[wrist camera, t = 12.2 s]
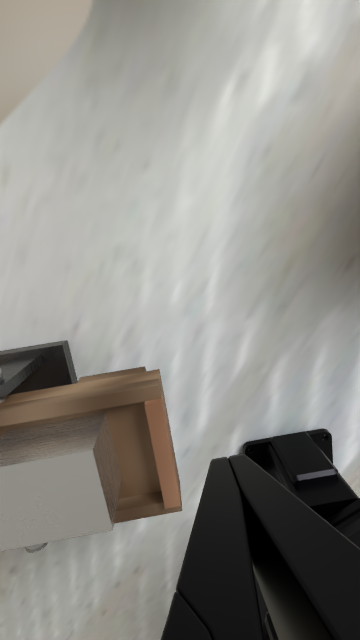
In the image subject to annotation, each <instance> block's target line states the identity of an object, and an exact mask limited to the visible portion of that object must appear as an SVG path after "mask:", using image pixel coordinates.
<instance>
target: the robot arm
mask: <svg viewBox="0 0 360 640" xmlns="http://www.w3.org/2000/svg"><path fill="white" fill-rule="evenodd" d="M323 435H325V436H324V437H323V438H322V436H323ZM249 448H253V449H252V450H248V449H249ZM243 450H244V454H239V455H233V456H230V457H229V458H227V457H222V458H216V459H212V460H211V463H210V466H209V470H208V474H207V477H206V481H205V484H204V488H203V492H202V495H201V499H200V503H199V506H198V510H197V514H196V517H195V521H194V524H193V528H192V532H191V535H190V539H189V543H188V546H187V550H186V553H185V557H184V561H183V564H182V568H181V572H180V575H179V579H178V582H177V586H176V592H175V593H174V596H173V600H172V603H171V607H170V611H169V614H168V618H167V621H166V624H165V627H164V631H163V634H162V637H161V640H360V498H359V497H358V496H357V495H356V494H355V492H354V491H353V490H352V489H351V487H350V486H349V485H348V484H347V482H346V481H345V480H344V479H343V478H342V476H341V475H340V474H339V473H338V470H337V469H336V467H335V466H334V465H333V454H332V436H331V434H330V433H329V432H328V431H327V430H326V429H318V430H312V431H306V432H299V433H293V434H287V435H281V436H276V437H272V438H266V439H260V440H254V441H249V442H246V443H245V444H244V446H243Z"/></svg>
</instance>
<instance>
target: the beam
mask: <svg viewBox="0 0 360 640" xmlns="http://www.w3.org/2000/svg"><path fill="white" fill-rule="evenodd" d="M105 412H106V416H107V420H108V425H109V429H110V433H111V437H112V442H113V446H114V450H115V454H116V459H117V463H118V467H119V471H120V475H121V485H120V491H119V497H118V502H117V508H116V514H115V520H114V523H119V522H124V521H130V520H135V519H140V518H146V517H151V516H157V515H162V514H167V513H173V512H178V511H182V502H181V491H180V481H179V475H178V470H177V464H176V459H175V453H174V448H173V442H172V437H171V431H170V426H169V420H168V415H167V409H166V404H165V398H164V393H163V387H162V382H161V376H160V371H159V369H158V370H152V371H146V369H145V367H139V368H133V369H128V370H122V371H116V372H110V373H104V374H98V375H92V376H86V377H81V378H80V379H79V381H78V382H77V383H76V384H70V385H64V386H58V387H53V388H47V389H41V390H35V391H29V392H23V393H17V394H11V395H7V396H3V397H0V437H1V435H2V434H3V433H4V432H5V431H6V430H9V429H15V428H21V427H26V426H32V425H38V424H43V423H49V422H54V421H60V420H66V419H71V418H77V417H83V416H88V415H94V414H100V413H105Z"/></svg>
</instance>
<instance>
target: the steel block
mask: <svg viewBox="0 0 360 640" xmlns="http://www.w3.org/2000/svg"><path fill="white" fill-rule="evenodd" d="M120 485H121V475H120V471H119V467H118V463H117V459H116V454H115V450H114V446H113V442H112V437H111V433H110V429H109V425H108V420H107V416H106V412H105V413H100V414H94V415H88V416H83V417H77V418H71V419H66V420H60V421H54V422H49V423H43V424H38V425H32V426H26V427H21V428H15V429H9V430H6V431H5V432H4V433H3V434H2V435H1V437H0V551H5V550H10V549H15V548H20V547H26V546H31V545H36V544H42V543H47V542H52V541H57V540H63V539H68V538H73V537H78V536H84V535H89V534H94V533H99V532H105V531H110V530H113V526H114V520H115V514H116V508H117V502H118V497H119V491H120Z"/></svg>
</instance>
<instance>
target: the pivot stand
mask: <svg viewBox="0 0 360 640" xmlns="http://www.w3.org/2000/svg"><path fill="white" fill-rule="evenodd" d="M77 382H78V381H77V377H76V373H75V369H74V365H73V361H72V357H71V353H70V349H69V345H68V341H67V340H66V341H60V342H54V343H47V344H41V345H35V346H29V347H23V348H17V349H11V350H5V351H0V397H3V396H7V395H11V394H17V393H23V392H29V391H35V390H41V389H47V388H53V387H58V386H64V385H70V384H76V383H77ZM47 543H48V542H47ZM47 543H42V544H36V545H31V546H26V547H25V549H26V551H27V552H36V551H39V550H40V549H42V548H43V547H45V546H46V545H47Z"/></svg>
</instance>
